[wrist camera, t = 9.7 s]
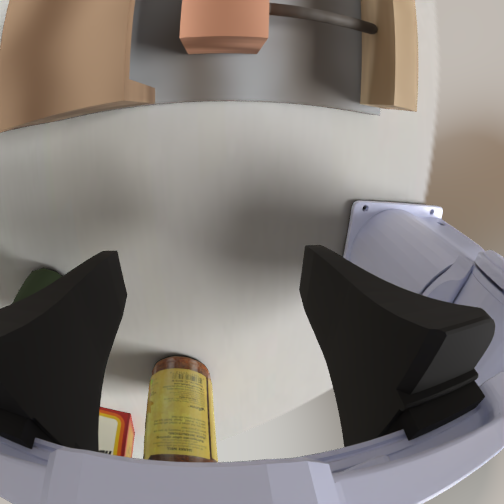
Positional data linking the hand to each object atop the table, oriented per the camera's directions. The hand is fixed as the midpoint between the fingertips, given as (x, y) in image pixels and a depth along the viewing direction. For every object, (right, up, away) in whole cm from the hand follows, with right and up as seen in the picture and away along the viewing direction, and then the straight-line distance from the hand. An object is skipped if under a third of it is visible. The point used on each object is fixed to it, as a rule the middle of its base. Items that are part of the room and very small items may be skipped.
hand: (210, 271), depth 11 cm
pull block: (+4, +15, +2) cm, 15 cm away
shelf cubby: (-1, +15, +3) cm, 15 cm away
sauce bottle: (-6, -12, +16) cm, 21 cm away
